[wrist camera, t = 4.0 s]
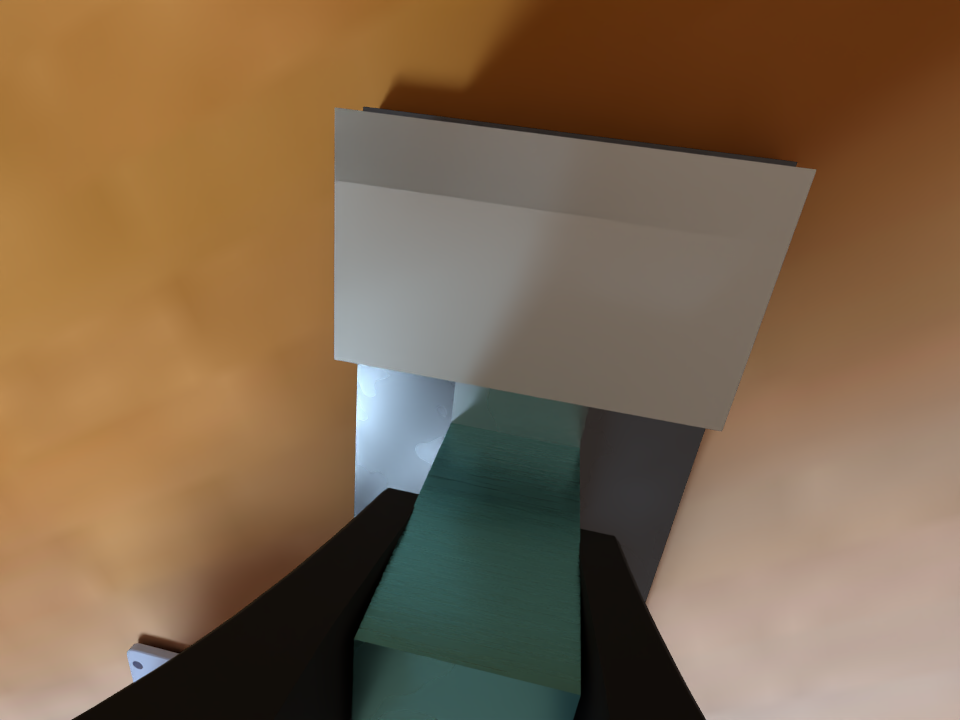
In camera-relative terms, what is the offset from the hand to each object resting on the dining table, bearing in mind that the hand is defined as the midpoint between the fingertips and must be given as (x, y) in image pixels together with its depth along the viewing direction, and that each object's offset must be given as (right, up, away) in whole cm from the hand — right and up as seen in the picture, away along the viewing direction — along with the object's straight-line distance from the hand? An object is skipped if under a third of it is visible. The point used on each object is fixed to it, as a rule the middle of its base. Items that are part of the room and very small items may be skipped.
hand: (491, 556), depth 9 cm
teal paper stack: (0, -2, +6) cm, 6 cm away
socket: (+2, +7, +5) cm, 9 cm away
